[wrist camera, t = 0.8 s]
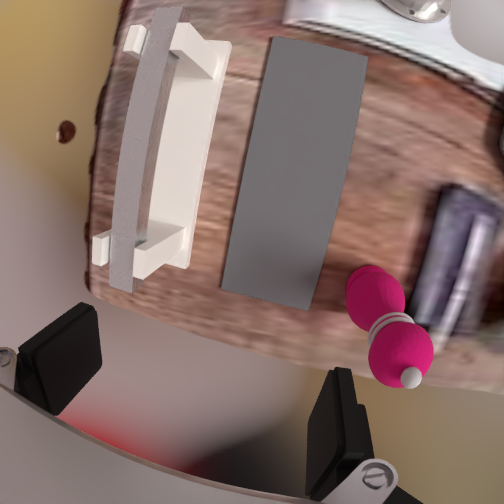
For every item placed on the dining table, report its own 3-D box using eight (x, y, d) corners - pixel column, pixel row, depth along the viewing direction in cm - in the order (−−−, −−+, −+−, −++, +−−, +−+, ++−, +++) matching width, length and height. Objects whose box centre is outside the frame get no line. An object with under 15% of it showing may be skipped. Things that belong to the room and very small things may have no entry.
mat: (273, 37, 31) (273, 35, 31) (367, 58, 30) (368, 57, 30) (221, 287, 41) (220, 289, 41) (308, 309, 40) (308, 310, 40)
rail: (165, 16, 24) (156, 7, 22) (191, 16, 24) (182, 6, 21) (120, 277, 33) (109, 285, 31) (142, 284, 33) (132, 293, 30)
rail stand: (175, 43, 33) (131, 6, 21) (232, 45, 32) (204, 1, 20) (138, 251, 42) (86, 282, 30) (189, 265, 41) (148, 304, 29)
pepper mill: (331, 297, 39) (351, 402, 20) (360, 251, 37) (410, 331, 18) (374, 319, 39) (414, 423, 20) (403, 276, 37) (470, 362, 18)
